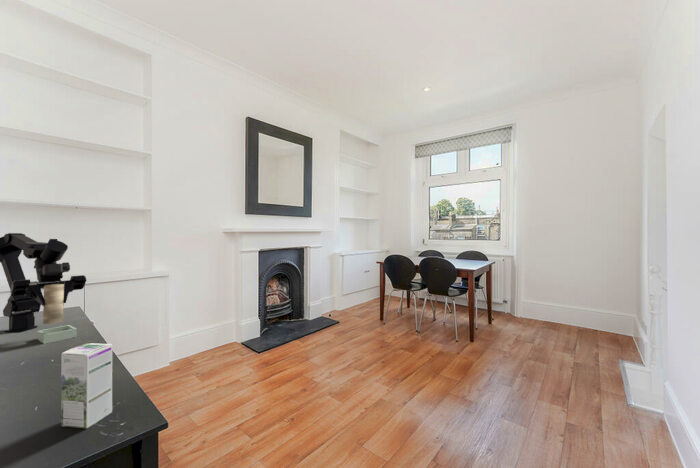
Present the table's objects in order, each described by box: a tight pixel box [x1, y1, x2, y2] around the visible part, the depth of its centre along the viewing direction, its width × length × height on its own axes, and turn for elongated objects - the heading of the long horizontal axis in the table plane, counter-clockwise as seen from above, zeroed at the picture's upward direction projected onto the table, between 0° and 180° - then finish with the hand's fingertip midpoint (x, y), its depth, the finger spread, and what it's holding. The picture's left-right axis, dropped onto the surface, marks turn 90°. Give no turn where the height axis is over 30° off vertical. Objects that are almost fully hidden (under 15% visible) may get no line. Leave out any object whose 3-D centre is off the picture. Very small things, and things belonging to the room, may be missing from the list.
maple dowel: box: [42, 284, 65, 325], centre depth 104 cm, size 5×5×13 cm
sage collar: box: [36, 324, 78, 345], centre depth 106 cm, size 9×9×3 cm
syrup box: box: [60, 342, 113, 429], centre depth 59 cm, size 6×6×14 cm
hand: (54, 303), depth 103 cm, fingers closed on maple dowel, 5 cm apart
